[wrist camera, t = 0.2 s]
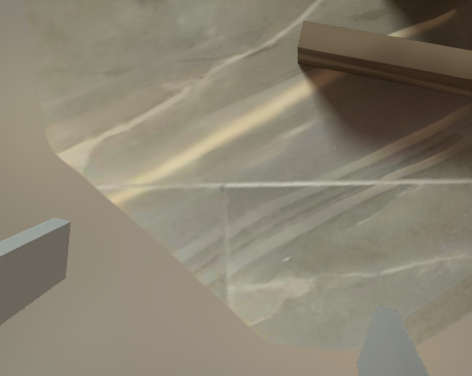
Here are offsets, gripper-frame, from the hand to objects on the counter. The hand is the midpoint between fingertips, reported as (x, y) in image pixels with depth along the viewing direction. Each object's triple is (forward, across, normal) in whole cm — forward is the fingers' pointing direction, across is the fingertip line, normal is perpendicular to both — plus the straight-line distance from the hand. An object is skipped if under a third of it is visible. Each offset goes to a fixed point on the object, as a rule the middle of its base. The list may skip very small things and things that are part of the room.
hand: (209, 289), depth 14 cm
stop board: (+28, +11, +14) cm, 33 cm away
